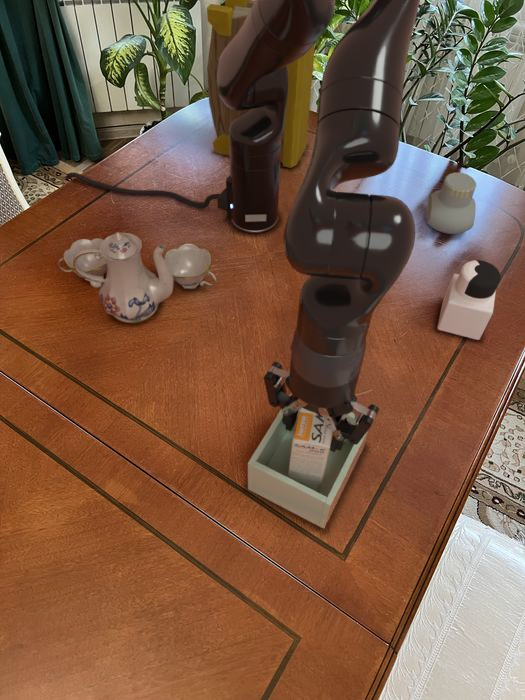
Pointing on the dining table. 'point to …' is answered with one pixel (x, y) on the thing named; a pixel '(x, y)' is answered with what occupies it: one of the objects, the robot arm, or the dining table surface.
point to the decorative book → (296, 117)
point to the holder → (275, 485)
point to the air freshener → (453, 205)
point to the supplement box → (309, 449)
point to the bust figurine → (470, 300)
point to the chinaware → (135, 273)
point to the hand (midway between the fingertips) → (312, 434)
